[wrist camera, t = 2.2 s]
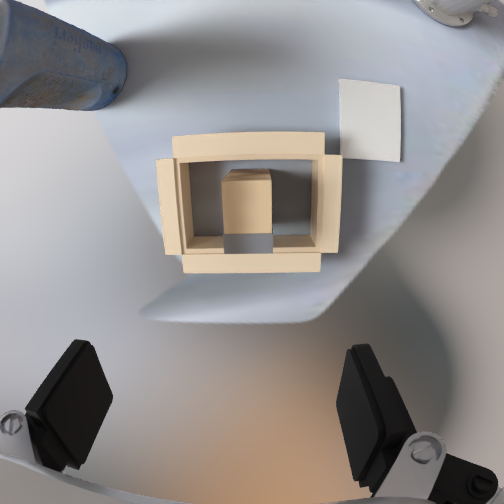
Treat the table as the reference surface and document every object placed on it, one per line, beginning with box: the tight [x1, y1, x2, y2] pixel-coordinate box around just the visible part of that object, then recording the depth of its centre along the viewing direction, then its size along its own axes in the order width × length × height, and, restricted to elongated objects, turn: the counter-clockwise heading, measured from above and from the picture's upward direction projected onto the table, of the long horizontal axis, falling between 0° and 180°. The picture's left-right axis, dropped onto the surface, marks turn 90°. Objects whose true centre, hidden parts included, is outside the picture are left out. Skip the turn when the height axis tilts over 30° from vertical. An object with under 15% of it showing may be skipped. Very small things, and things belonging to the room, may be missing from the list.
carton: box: [156, 132, 342, 273], centre depth 36 cm, size 20×16×5 cm
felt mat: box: [339, 79, 401, 162], centre depth 33 cm, size 8×10×1 cm
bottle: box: [0, 0, 127, 111], centre depth 18 cm, size 10×10×30 cm
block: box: [221, 169, 273, 254], centre depth 33 cm, size 5×7×10 cm
